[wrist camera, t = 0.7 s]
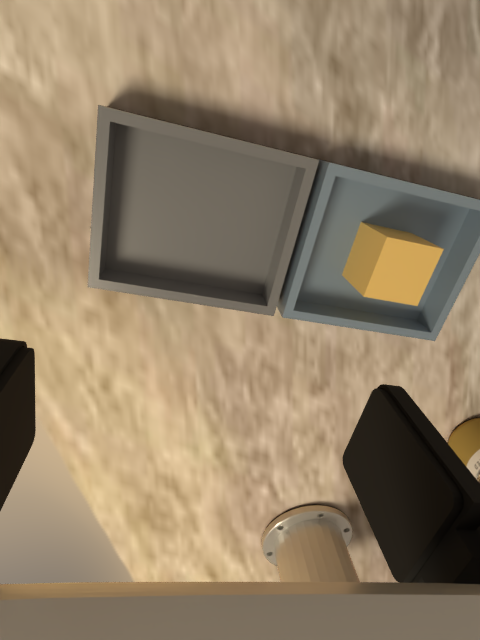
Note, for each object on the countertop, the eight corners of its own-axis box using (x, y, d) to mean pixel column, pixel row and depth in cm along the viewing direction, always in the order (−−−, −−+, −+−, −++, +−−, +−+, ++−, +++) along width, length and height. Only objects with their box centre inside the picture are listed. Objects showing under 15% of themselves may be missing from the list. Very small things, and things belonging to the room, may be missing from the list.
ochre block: (389, 283, 37) (417, 306, 32) (341, 275, 36) (363, 296, 31) (411, 232, 34) (443, 249, 30) (360, 221, 33) (387, 236, 29)
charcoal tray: (267, 301, 36) (273, 315, 34) (95, 273, 33) (87, 287, 31) (308, 156, 31) (319, 159, 28) (107, 106, 28) (98, 105, 25)
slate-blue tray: (418, 326, 40) (435, 340, 37) (275, 303, 37) (282, 317, 34) (479, 199, 34) (503, 205, 32) (317, 159, 31) (329, 162, 28)
